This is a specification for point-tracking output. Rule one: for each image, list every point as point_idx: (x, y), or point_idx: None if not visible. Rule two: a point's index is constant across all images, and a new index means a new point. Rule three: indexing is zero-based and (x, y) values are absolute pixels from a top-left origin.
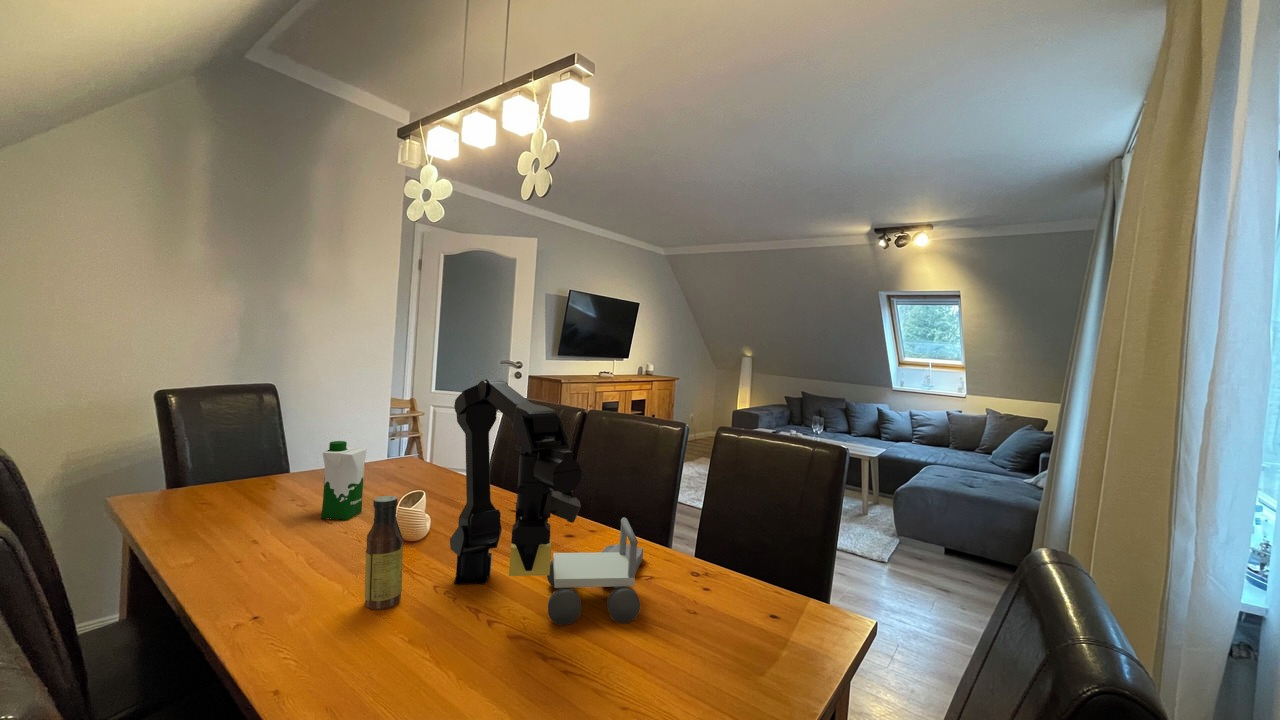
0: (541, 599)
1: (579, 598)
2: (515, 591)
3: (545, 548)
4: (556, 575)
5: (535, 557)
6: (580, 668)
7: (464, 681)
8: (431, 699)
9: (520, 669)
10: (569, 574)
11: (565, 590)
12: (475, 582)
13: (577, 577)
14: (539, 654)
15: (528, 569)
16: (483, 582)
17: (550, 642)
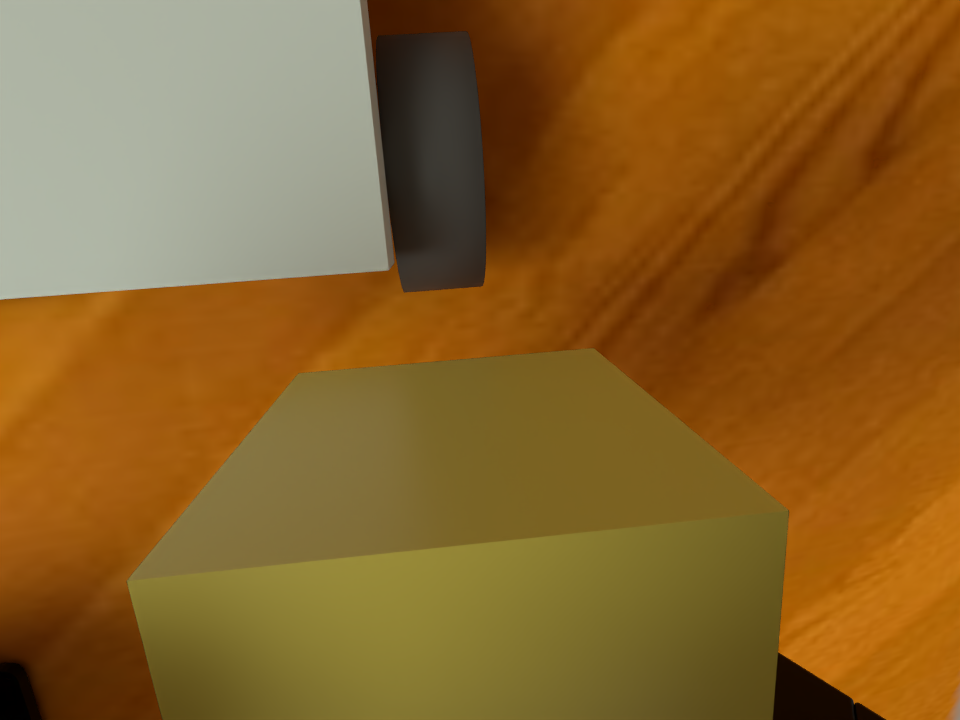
0: (162, 328)
1: (430, 37)
2: (83, 491)
3: (763, 615)
4: (303, 259)
5: (797, 664)
6: (867, 78)
7: (860, 562)
8: (932, 637)
9: (824, 368)
10: (262, 114)
11: (439, 160)
12: (36, 716)
13: (329, 16)
14: (726, 294)
15: None
16: (22, 678)
17: (630, 245)
